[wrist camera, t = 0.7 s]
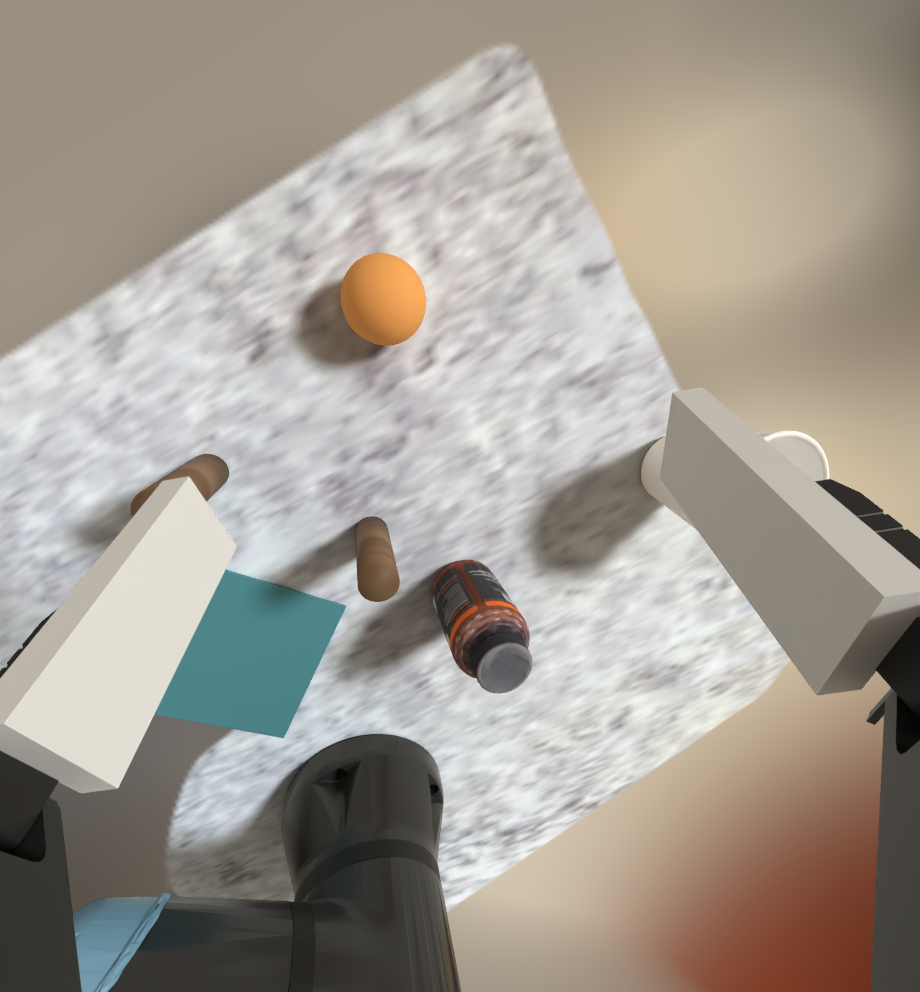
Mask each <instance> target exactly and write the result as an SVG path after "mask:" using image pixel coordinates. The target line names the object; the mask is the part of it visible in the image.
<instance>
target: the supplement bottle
mask: <svg viewBox="0 0 920 992" xmlns="http://www.w3.org/2000/svg"><path fill="white" fill-rule="evenodd" d="M432 600H433V604H434V607H435V609H436V612H437V615H438V618H439V620H440V623H441V626H442V628H443V631H444V634H445V636H446V639H447V642H448V644H449V647H450V650H451V652H452V655H453V658H454V660H455V662H456V664H457V665H458V667H459V668H460V669H461V670H462V671H463V672H465V673H466V674H467V675H469V676H471V677H473V678H477V680H478V682H479V684H480V685H481V687H482V688H484V689H485V690H487V691H489V692H492V693H505V692H509V691H512V690H514V689H515V688H517V687H519V686H520V685H521V684H522V683H523V682H524V681H525V680H526V679H527V677H528V675H529V674H530V671H531V669H532V657H531V654H530V652H529V650H528V646H529V641H530V635H529V629H528V626H527V623H526V622H525V620H524V618H523V617H522V615H521V614H520V612H519V611H518V609H517V608H516V606H515V605H514V603H513V602H512V601H511V599H510V598H509V596H508V595H507V593H506V592H505V591H504V589H503V588H502V586H501V585H500V583H499V582H498V580H497V579H496V578H495V576H494V575H493V573H492V572H491V571H490V570H489V569H488V568H487V567H486V566H485V565H483V564H482V563H480V562H477V561H473V560H462V561H458V562H454V563H452V564H450V565H448V566H447V567H446V568H444V569H443V570H442V571H441V572H440V573H439V575H438V576H437V577H436V579H435V581H434V584H433V587H432Z"/></svg>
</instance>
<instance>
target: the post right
mask: <svg viewBox="0 0 920 992" xmlns="http://www.w3.org/2000/svg"><path fill="white" fill-rule="evenodd" d="M355 534H356V557H357V580H358V590H359V592H360V594H361V595H362V596H363V597H364V598H365V599H367V600H370V601H373V602H381V601H385V600H387V599H389V598H391V597H392V596H393V595H394V594H395V593H396V592H397V590H398V588H399V583H400V580H399V575H398V571H397V567H396V562H395V558H394V554H393V550H392V545H391V541H390V537H389V533H388V528H387V525H386V524H385V522H384V521H383V520H382V519H380V518H378V517H367V518H364V519H362V520H361V521H360V522H359V523H358V525H357V527H356V531H355Z"/></svg>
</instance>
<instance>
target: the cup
mask: <svg viewBox="0 0 920 992" xmlns="http://www.w3.org/2000/svg"><path fill="white" fill-rule="evenodd" d="M759 435H760V436H761V437H762V438H764V439H765V440H766V441H767V442H768V443H769V444H771V445H772V446H773V447H774V448H775V449H777V450H778V451H779V452H780V453H781V454H783V455H784V456H785V457H786V458H787V459H789V460H790V461H791V462H792V463H793V464H794V465H796V466H797V467H798V468H799V469H800V470H802V471H803V472H804V473H805V474H806V475H808V476H809V477H810V478H811V479H812V480H814V481H821V480H827V479H829V467H828V462H827V459H826V456H825V454H824V451H823V449H822V448H821V447H820V445H819V444H818V443H817V442H816V441H815V440H814V439H812V438H811V437H810V436H808V435H806V434H803V433H801V432H798V431H787V430H785V431H780V432H774V433H771V434H759ZM665 439H666V437H663V438H662V439H660V440H658V441H657V442H656V443H655V444H654V445H653V446H652V447H651V448H650V449H649V450H648V452H647V454H646V456H645V458H644V460H643V463H642V468H641V479H642V483H643V486H644V488H645V489H646V491H647V492H648V493H649V494H650V495H651V496H653V497H654V498H655V499H657V500H658V501H659V502H661V503H662V504H664V505H665V506H666V507H668V508H669V509H670V510H671V511H673V512H674V513H675V514H677V515H678V516H679V517H681V518H682V519H683V520H685V521H686V522H687V523H689V524H690V525H691V526H692V527H694V528H695V529H696V527H695V526H694V525H693V523H692V522H691V521H690V519H689V518H688V516H687V515H686V514H685V512H684V511H683V509H682V508H681V507H680V505H679V504H678V503H677V501H676V500H675V498H674V497H673V496H672V494H671V493H670V491H669V490H668V489H667V487H666V486H665V485H664V483H663V482H662V480H661V479H660V473H661V466H662V459H663V453H664V446H665ZM696 530H697V529H696ZM697 531H698V530H697Z"/></svg>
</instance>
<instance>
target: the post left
mask: <svg viewBox="0 0 920 992" xmlns="http://www.w3.org/2000/svg"><path fill="white" fill-rule="evenodd" d="M188 476H189V477H190V478H191V480H192V481H193V483H194V484H195V486H196V487H197V489H198V490H199V492H200V493H201V495H202V496H203V498H204V499H205V501H206V502H207V501H208V500H209V499H210V498H211V497H212V496H213V495H214V494H215V493H216V492H217V491H218V490H219V489H220V488H221V487H222V486H223V485H224V484H225V483H226V481H227V479H228V477H229V469H228V467H227V465H226V463H225V462H224V461H223V460H222V459H221V458H219V457H218V456H215V455H212V454H202V455H199V456H197V457H195V458H194V459H192V460H191V461H189V462H188V463H186V464H184V465H183V466H181V467H180V468H178V469H176V470H175V471H173V472H172V473H170V474H169V475H167V476H165V477H164V478H162V479H161V480H159V481H157V482H156V483H154V484H153V485H151V486H150V487H148V488H146V489H145V490H143V491H142V492H140V493H139V494H137V495H136V497H135V498H134V499H133V501H132V504H131V514H132V517H133V516H134V515H135V514H136V513H137V511H138V510H139V509H140V508H141V507H142V505H143V504H144V503H145V502H146V501H147V499H148V498H149V497H150V496H151V494H152V493H153V492H154V491H155V490H156V488H157V487H158V486H159V485H160V483H161V482H162V481H165V480H170V479H176V478H182V477H188Z"/></svg>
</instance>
